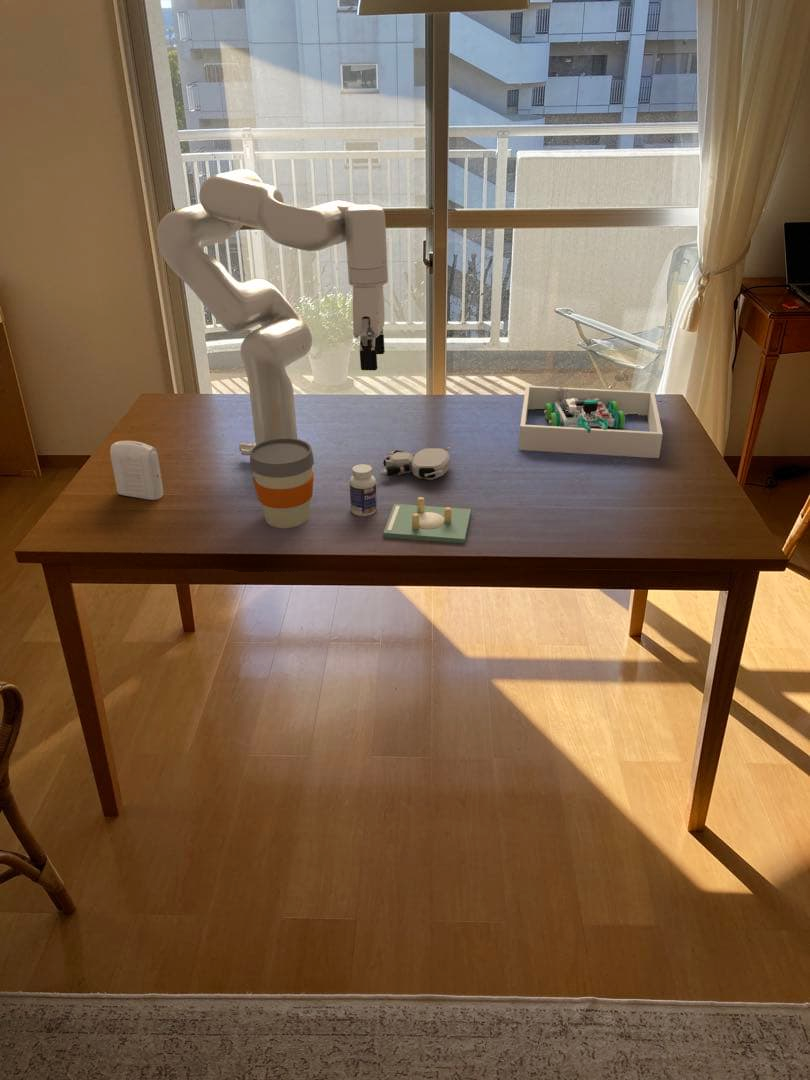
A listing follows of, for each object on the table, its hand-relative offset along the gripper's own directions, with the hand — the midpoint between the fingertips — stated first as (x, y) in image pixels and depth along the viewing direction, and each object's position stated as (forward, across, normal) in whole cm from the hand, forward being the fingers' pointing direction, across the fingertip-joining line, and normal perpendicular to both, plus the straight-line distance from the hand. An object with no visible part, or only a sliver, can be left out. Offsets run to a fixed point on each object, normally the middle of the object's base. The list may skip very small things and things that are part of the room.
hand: (373, 361), depth 175 cm
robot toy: (+29, -9, +7) cm, 31 cm away
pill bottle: (+29, +10, -2) cm, 31 cm away
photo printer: (+28, +8, -51) cm, 58 cm away
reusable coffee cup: (+28, +14, -17) cm, 36 cm away
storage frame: (+29, -35, +46) cm, 65 cm away
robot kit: (+29, -35, +46) cm, 65 cm away
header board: (+29, +14, +12) cm, 35 cm away
